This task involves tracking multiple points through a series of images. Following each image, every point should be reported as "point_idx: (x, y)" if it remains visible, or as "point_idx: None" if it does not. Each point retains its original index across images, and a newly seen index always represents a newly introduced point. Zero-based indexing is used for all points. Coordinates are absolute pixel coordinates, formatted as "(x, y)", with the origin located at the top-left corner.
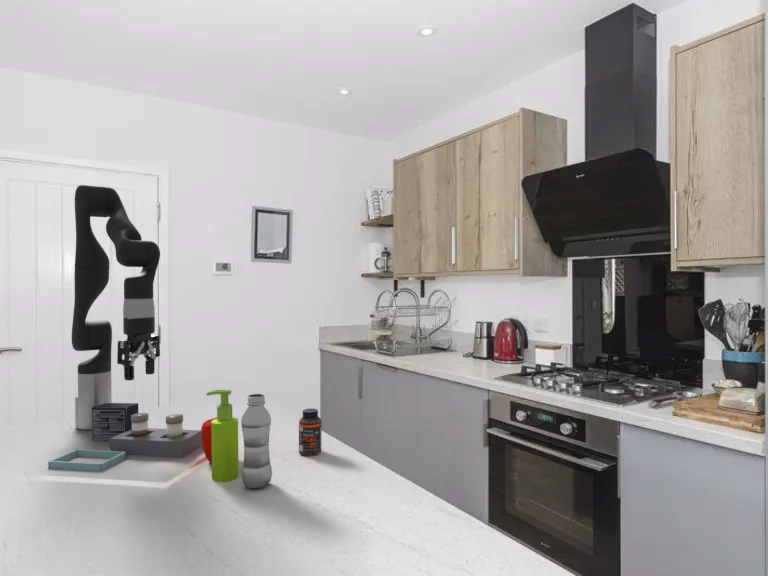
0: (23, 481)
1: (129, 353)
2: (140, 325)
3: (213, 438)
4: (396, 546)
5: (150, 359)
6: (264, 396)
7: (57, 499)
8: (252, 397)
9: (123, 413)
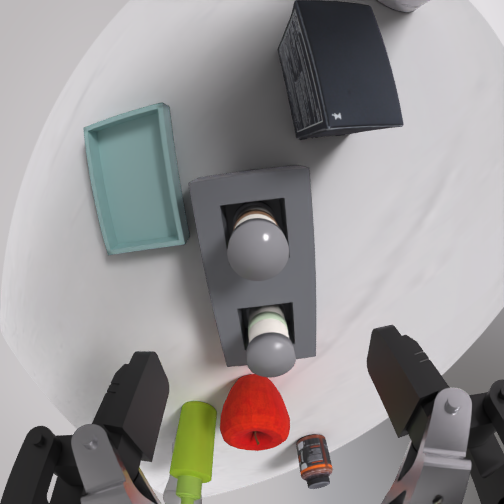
0: (56, 136)
1: None
2: None
3: (173, 452)
4: (158, 482)
5: (413, 432)
6: None
7: (43, 263)
8: None
9: (319, 119)
